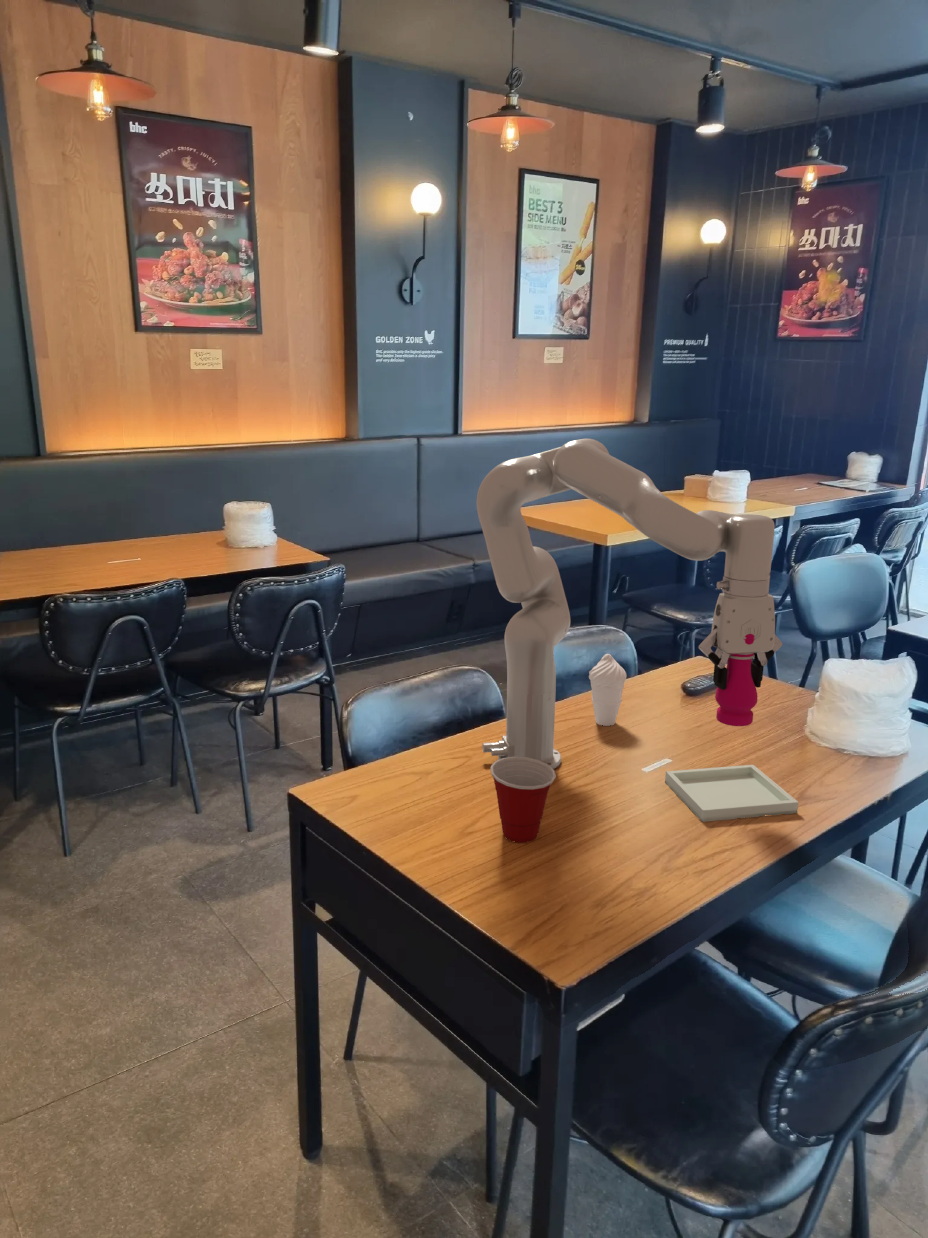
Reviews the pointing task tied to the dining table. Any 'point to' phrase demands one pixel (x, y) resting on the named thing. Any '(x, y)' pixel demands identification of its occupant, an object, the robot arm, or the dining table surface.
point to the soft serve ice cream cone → (607, 689)
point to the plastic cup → (521, 795)
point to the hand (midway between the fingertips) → (737, 685)
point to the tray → (730, 793)
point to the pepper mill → (738, 690)
